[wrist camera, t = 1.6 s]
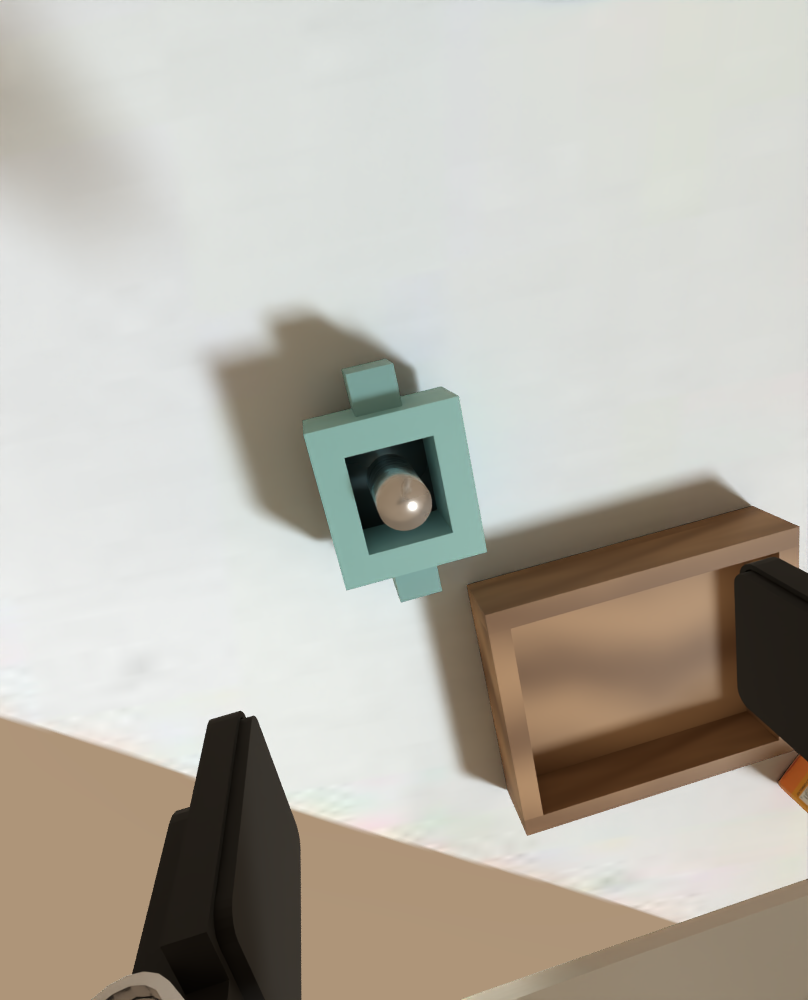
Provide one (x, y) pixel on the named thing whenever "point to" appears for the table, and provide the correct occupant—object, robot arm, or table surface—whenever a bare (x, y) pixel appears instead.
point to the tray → (624, 667)
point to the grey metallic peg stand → (392, 486)
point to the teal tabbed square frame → (457, 517)
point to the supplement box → (797, 782)
